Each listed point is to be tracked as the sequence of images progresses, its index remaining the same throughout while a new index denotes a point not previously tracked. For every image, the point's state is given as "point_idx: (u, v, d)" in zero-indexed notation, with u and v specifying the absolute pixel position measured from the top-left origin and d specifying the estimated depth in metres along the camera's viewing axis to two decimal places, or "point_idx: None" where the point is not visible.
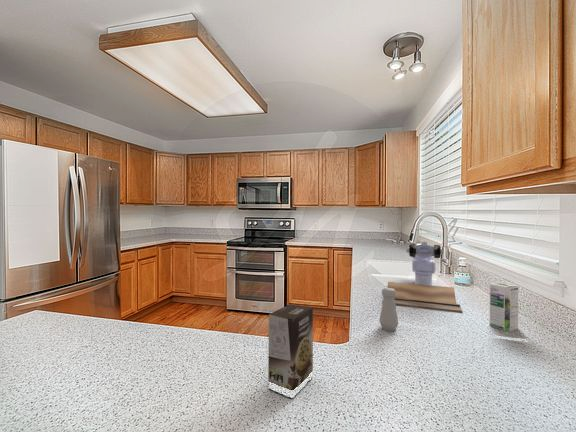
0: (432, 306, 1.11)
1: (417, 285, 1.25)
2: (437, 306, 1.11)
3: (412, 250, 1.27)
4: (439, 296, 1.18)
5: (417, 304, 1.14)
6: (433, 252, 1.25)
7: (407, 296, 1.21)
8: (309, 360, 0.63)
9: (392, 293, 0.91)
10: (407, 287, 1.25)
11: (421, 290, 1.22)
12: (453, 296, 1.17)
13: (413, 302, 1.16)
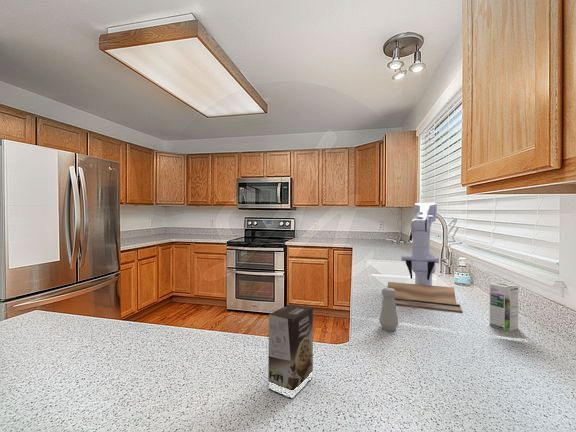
0: (432, 306, 1.11)
1: (417, 285, 1.25)
2: (437, 306, 1.11)
3: None
4: (439, 296, 1.18)
5: (417, 304, 1.14)
6: None
7: (407, 296, 1.21)
8: (309, 360, 0.63)
9: (392, 293, 0.91)
10: (407, 287, 1.25)
11: (421, 290, 1.22)
12: (453, 296, 1.17)
13: (413, 302, 1.16)
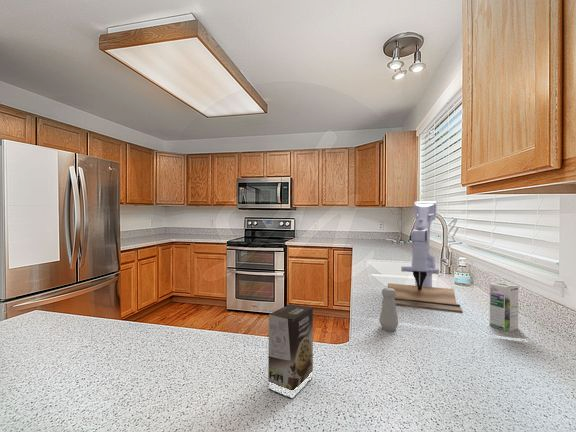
0: (432, 306, 1.11)
1: (417, 286, 1.26)
2: (437, 306, 1.11)
3: None
4: (439, 297, 1.18)
5: (417, 304, 1.14)
6: None
7: (408, 297, 1.21)
8: (309, 360, 0.63)
9: (392, 293, 0.91)
10: (407, 288, 1.26)
11: (421, 291, 1.23)
12: (453, 297, 1.17)
13: (413, 302, 1.16)
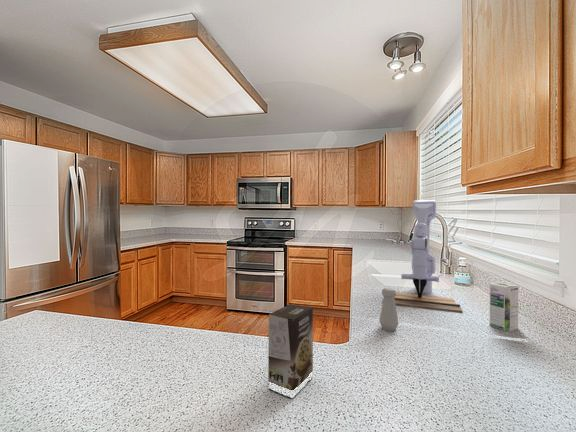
0: (432, 306, 1.11)
1: (417, 295, 1.27)
2: (437, 306, 1.11)
3: None
4: (439, 300, 1.19)
5: (417, 304, 1.14)
6: None
7: (408, 298, 1.22)
8: (309, 360, 0.63)
9: (392, 293, 0.91)
10: (407, 295, 1.27)
11: None
12: (453, 301, 1.17)
13: (413, 302, 1.16)
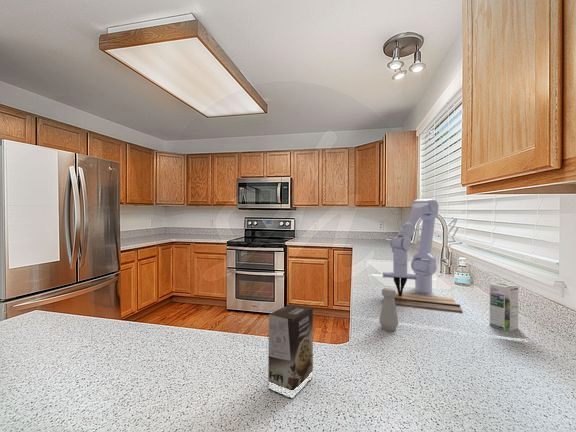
0: (432, 306, 1.11)
1: (417, 295, 1.27)
2: (437, 306, 1.11)
3: None
4: (439, 300, 1.19)
5: (417, 304, 1.14)
6: None
7: (408, 298, 1.22)
8: (309, 360, 0.63)
9: (392, 293, 0.91)
10: (407, 295, 1.27)
11: (421, 297, 1.24)
12: (453, 301, 1.17)
13: (413, 302, 1.16)
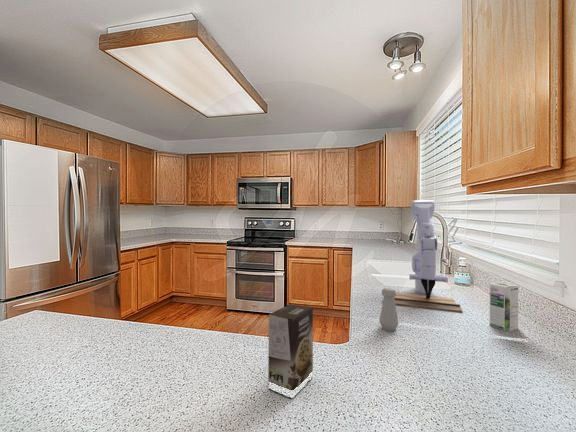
0: (432, 306, 1.11)
1: (417, 295, 1.27)
2: (437, 306, 1.11)
3: None
4: (439, 300, 1.19)
5: (417, 304, 1.14)
6: None
7: (408, 298, 1.22)
8: (309, 360, 0.63)
9: (392, 293, 0.91)
10: (407, 295, 1.27)
11: (421, 297, 1.24)
12: (453, 301, 1.17)
13: (413, 302, 1.16)
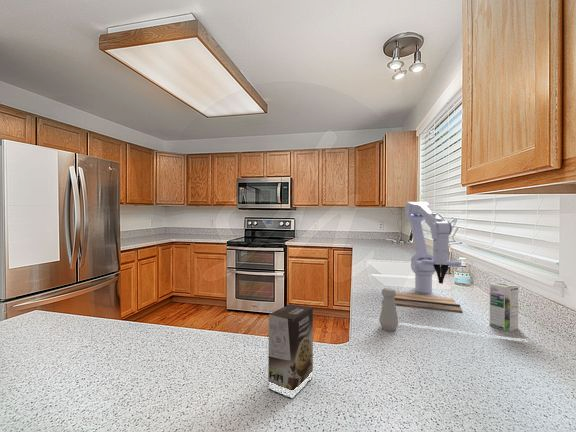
0: (432, 306, 1.11)
1: (417, 295, 1.27)
2: (437, 306, 1.11)
3: None
4: (439, 300, 1.19)
5: (417, 304, 1.14)
6: None
7: (408, 298, 1.22)
8: (309, 360, 0.63)
9: (392, 293, 0.91)
10: (407, 295, 1.27)
11: (421, 297, 1.24)
12: (453, 301, 1.17)
13: (413, 302, 1.16)
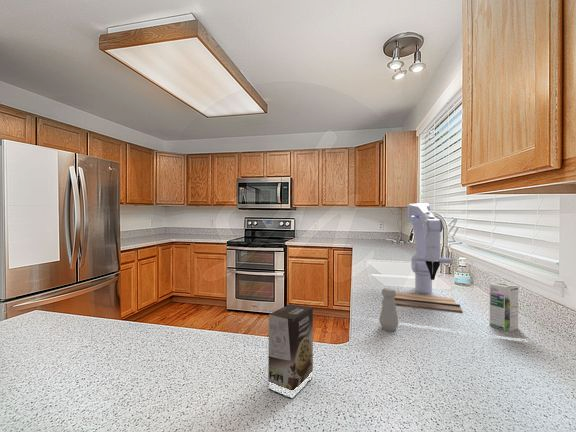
0: (432, 306, 1.11)
1: (417, 295, 1.27)
2: (437, 306, 1.11)
3: None
4: (439, 300, 1.19)
5: (417, 304, 1.14)
6: None
7: (408, 298, 1.22)
8: (309, 360, 0.63)
9: (392, 293, 0.91)
10: (407, 295, 1.27)
11: (421, 297, 1.24)
12: (453, 301, 1.17)
13: (413, 302, 1.16)
